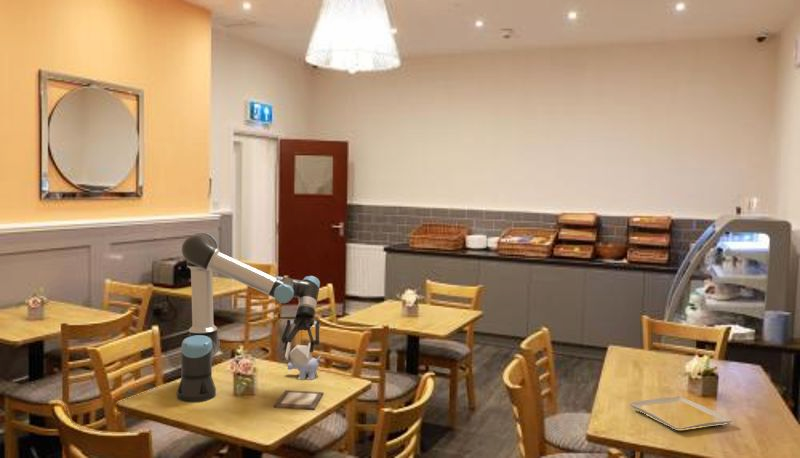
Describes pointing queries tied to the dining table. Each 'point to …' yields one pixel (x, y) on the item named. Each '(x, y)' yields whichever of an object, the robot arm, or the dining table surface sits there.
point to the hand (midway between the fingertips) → (297, 358)
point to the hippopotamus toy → (306, 368)
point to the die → (299, 355)
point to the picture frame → (299, 400)
